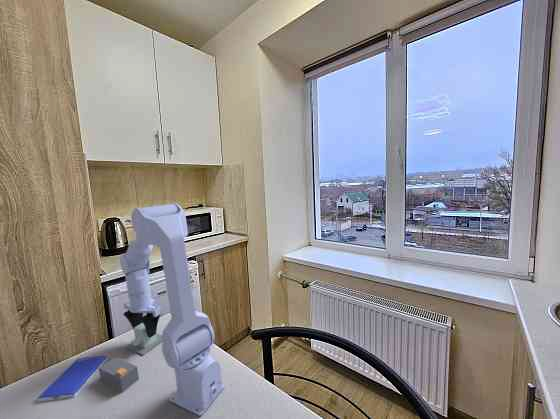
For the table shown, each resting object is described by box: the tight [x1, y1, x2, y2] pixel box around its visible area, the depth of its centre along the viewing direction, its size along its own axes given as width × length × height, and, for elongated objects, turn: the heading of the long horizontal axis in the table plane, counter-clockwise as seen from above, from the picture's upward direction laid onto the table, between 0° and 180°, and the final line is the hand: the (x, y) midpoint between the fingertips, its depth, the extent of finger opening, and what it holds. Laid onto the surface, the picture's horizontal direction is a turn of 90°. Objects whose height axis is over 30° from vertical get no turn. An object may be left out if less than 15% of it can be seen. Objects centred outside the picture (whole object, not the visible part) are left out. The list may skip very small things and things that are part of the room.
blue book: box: [36, 355, 109, 402], centre depth 62 cm, size 2×8×12 cm
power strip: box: [98, 356, 140, 393], centre depth 60 cm, size 9×4×4 cm, turn 64°
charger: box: [131, 323, 157, 348], centre depth 73 cm, size 4×6×6 cm
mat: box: [125, 333, 163, 356], centre depth 74 cm, size 8×8×1 cm
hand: (145, 333), depth 74 cm, fingers open, 6 cm apart
